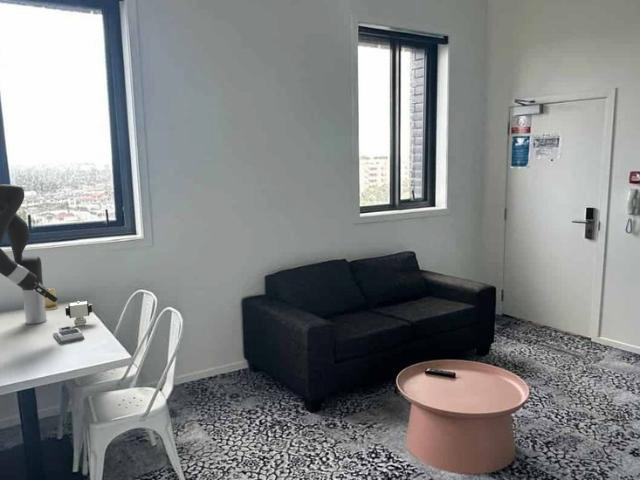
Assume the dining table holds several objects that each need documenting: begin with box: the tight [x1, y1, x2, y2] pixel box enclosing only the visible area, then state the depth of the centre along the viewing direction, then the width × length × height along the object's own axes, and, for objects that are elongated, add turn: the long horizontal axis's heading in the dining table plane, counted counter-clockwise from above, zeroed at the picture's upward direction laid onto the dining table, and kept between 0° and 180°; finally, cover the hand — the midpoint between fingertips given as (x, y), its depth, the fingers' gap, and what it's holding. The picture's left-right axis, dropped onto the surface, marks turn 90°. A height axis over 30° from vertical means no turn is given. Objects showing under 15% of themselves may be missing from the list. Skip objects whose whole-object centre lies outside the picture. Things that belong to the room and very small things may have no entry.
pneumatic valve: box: [64, 300, 93, 327], centre depth 256 cm, size 6×12×12 cm, turn 114°
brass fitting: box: [44, 287, 59, 312], centre depth 233 cm, size 5×5×9 cm
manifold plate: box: [52, 325, 85, 345], centre depth 237 cm, size 15×10×3 cm, turn 37°
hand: (55, 299), depth 234 cm, fingers closed on brass fitting, 4 cm apart
